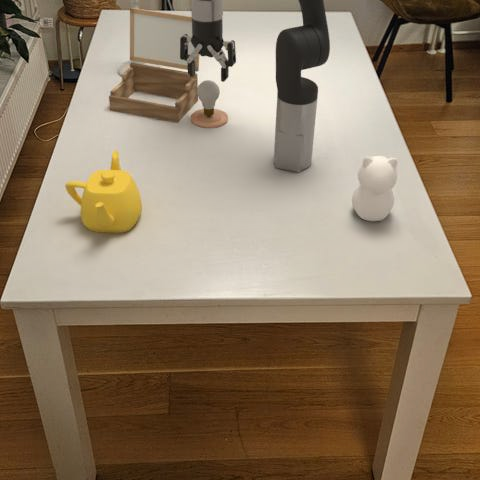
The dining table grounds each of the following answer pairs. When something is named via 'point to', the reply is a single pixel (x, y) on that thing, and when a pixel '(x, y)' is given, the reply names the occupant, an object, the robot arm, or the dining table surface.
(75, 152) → the dining table surface
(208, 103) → the light bulb
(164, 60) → the lid
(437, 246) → the dining table surface
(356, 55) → the dining table surface
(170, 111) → the cold frame
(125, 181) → the teapot
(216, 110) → the saucer
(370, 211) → the cat figurine
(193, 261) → the dining table surface
